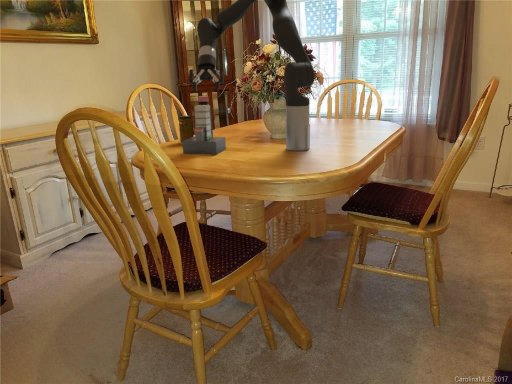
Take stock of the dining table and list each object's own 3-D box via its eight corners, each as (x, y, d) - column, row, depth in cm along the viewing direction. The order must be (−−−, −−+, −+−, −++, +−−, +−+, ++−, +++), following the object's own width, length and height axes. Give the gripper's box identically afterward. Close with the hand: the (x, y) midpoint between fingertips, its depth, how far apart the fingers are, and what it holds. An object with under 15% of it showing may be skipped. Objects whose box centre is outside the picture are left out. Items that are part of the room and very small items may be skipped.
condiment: (179, 142, 190) (176, 115, 186) (197, 140, 192) (195, 114, 188) (180, 144, 183) (178, 117, 179) (199, 143, 185) (197, 116, 182)
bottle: (196, 141, 189) (193, 97, 184) (201, 139, 196) (198, 95, 190) (210, 141, 188) (207, 96, 182) (215, 139, 194) (212, 95, 188)
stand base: (225, 149, 169) (224, 124, 166) (216, 154, 159) (215, 128, 156) (194, 148, 173) (192, 124, 170) (183, 153, 163) (181, 128, 160)
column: (211, 137, 166) (210, 104, 162) (207, 139, 162) (205, 106, 158) (200, 137, 167) (198, 105, 164) (196, 139, 163) (194, 106, 159)
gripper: (224, 65, 178) (224, 96, 172) (192, 65, 178) (190, 97, 172) (223, 53, 171) (222, 85, 165) (188, 54, 171) (186, 86, 165)
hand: (205, 91), depth 168 cm, fingers open, 8 cm apart
